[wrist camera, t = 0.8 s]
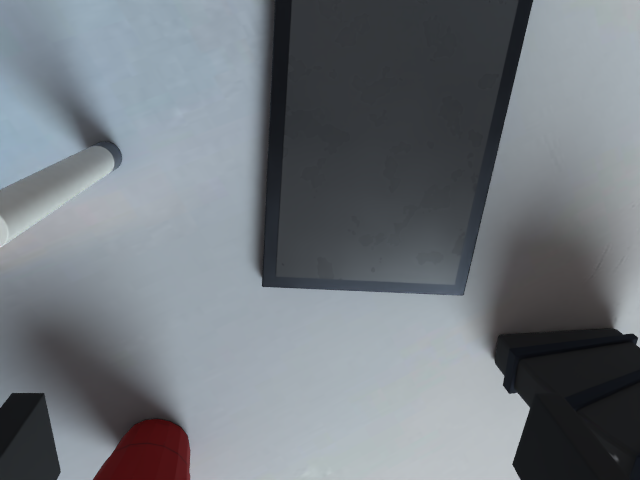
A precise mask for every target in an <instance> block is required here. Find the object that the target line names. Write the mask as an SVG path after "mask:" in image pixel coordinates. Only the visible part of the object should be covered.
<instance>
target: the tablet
mask: <svg viewBox="0 0 640 480" xmlns="http://www.w3.org/2000/svg"><path fill="white" fill-rule="evenodd" d="M532 2H533V0H275V16H274V38H273V60H272V81H271V103H270V125H269V146H268V168H267V190H266V211H265V233H264V255H263V276H262V286H263V287H281V288H304V289H326V290H349V291H372V292H394V293H417V294H440V295H464V291H465V287H466V282H467V278H468V274H469V270H470V266H471V261H472V257H473V253H474V249H475V244H476V240H477V236H478V232H479V227H480V223H481V219H482V215H483V210H484V206H485V202H486V198H487V193H488V189H489V185H490V181H491V176H492V172H493V168H494V164H495V159H496V155H497V151H498V147H499V142H500V138H501V134H502V130H503V125H504V121H505V117H506V113H507V109H508V104H509V100H510V96H511V92H512V87H513V83H514V79H515V75H516V70H517V66H518V62H519V58H520V53H521V49H522V45H523V41H524V36H525V32H526V28H527V24H528V19H529V15H530V11H531V7H532Z"/></svg>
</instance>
